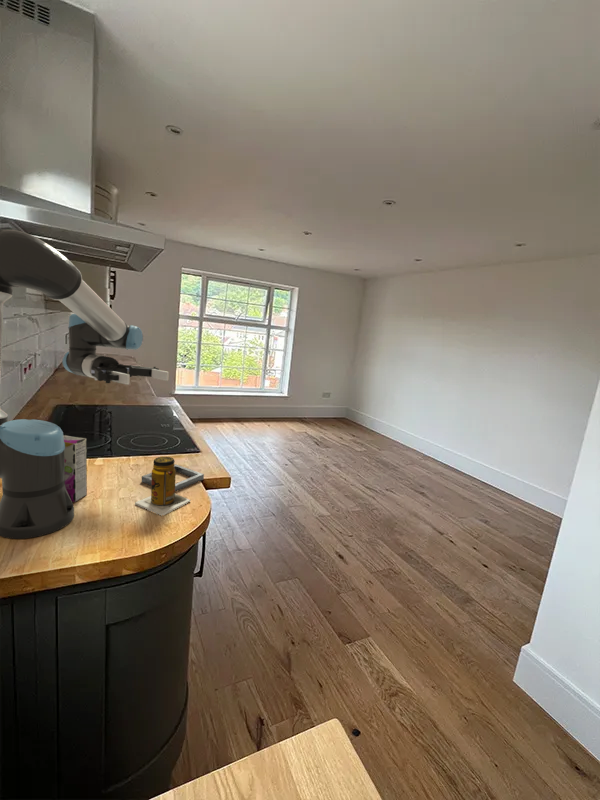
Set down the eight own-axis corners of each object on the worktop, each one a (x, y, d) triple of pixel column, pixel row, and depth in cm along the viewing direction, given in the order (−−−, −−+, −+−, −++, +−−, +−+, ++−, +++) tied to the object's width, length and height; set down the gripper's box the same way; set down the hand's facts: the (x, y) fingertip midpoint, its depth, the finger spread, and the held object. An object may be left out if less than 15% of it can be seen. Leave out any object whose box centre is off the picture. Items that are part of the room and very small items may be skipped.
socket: (171, 493, 107) (171, 487, 107) (141, 481, 112) (141, 476, 112) (203, 479, 119) (203, 474, 118) (175, 469, 124) (175, 464, 124)
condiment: (143, 501, 100) (144, 459, 97) (169, 491, 107) (170, 451, 105) (162, 510, 96) (163, 466, 94) (187, 499, 103) (189, 458, 101)
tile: (161, 516, 94) (161, 514, 94) (135, 504, 99) (135, 502, 99) (190, 502, 103) (190, 500, 103) (164, 491, 108) (164, 489, 108)
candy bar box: (35, 497, 98) (33, 437, 94) (49, 489, 102) (48, 432, 99) (75, 503, 97) (74, 442, 94) (88, 494, 102) (87, 437, 98)
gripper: (136, 377, 128) (181, 386, 118) (60, 382, 106) (109, 395, 96) (136, 355, 126) (182, 363, 117) (60, 356, 104) (109, 366, 95)
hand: (149, 377), depth 106 cm, fingers open, 13 cm apart
